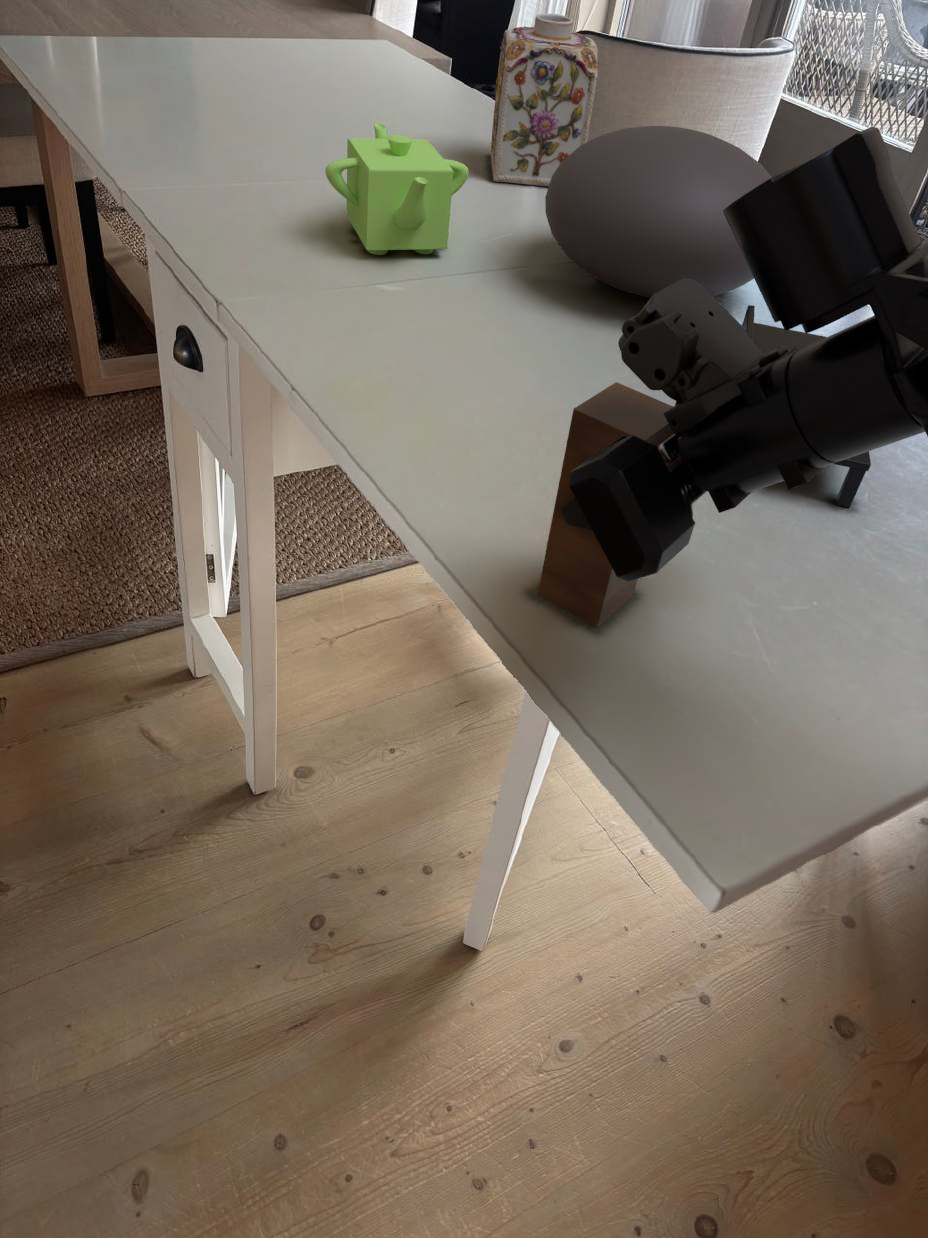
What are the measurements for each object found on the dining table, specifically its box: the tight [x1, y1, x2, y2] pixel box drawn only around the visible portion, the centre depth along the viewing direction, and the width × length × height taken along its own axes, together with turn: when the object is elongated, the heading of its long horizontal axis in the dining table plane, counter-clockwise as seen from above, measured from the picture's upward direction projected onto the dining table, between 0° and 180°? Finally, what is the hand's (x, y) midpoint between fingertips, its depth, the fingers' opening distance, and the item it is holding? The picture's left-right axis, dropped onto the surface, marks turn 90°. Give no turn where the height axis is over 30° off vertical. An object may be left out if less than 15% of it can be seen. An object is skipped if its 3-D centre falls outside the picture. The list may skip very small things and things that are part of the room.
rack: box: [741, 304, 872, 508], centre depth 79 cm, size 10×22×6 cm, turn 166°
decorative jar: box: [490, 13, 599, 188], centre depth 121 cm, size 12×12×18 cm
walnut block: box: [537, 381, 674, 629], centre depth 57 cm, size 5×5×14 cm
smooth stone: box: [544, 125, 773, 298], centre depth 97 cm, size 25×25×15 cm
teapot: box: [324, 122, 470, 256], centre depth 100 cm, size 15×13×11 cm
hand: (587, 499), depth 57 cm, fingers closed on walnut block, 4 cm apart
